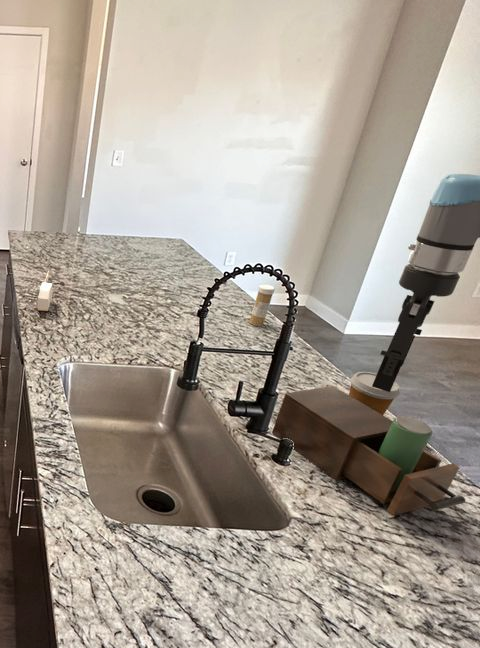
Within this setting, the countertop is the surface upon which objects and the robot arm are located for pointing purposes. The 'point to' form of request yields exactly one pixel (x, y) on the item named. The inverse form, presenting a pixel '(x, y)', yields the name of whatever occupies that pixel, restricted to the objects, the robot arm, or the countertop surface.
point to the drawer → (415, 487)
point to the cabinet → (327, 426)
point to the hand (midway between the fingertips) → (387, 375)
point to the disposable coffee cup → (372, 392)
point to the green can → (405, 444)
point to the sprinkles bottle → (261, 305)
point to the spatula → (45, 295)
